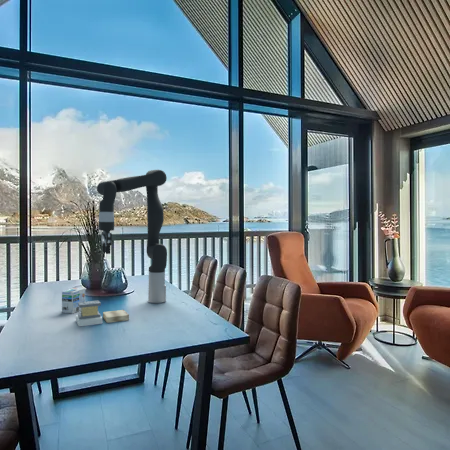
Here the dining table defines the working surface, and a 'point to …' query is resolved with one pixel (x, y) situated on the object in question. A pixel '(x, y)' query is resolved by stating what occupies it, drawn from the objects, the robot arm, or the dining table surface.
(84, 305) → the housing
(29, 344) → the dining table surface
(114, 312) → the stand
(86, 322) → the stand
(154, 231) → the robot arm
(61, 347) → the dining table surface
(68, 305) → the light bulb box
